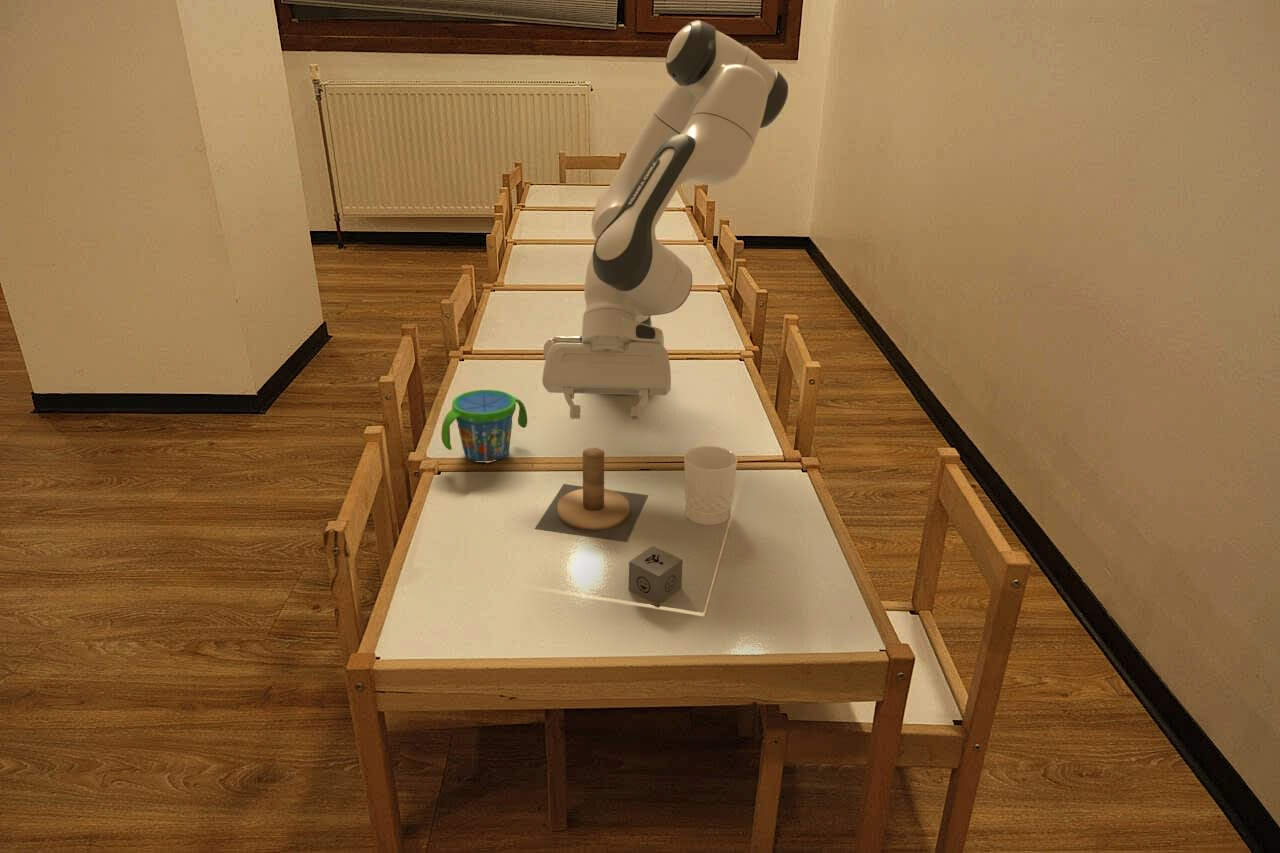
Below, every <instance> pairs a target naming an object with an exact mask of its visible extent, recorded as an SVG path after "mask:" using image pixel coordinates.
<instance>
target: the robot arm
mask: <svg viewBox="0 0 1280 853" xmlns="http://www.w3.org/2000/svg"><path fill="white" fill-rule="evenodd" d="M665 67H666V71H667V73H668V75H669V76H670V77H671V79H673V80H674V81H673V83H672V84H671V86H670V87H669V88H668V89H667V91H666V92H665V93H664V94H663V96H662V97H661V99H660V100H659V101H658V103H657V105H656V106H655V107H654V110H652V111H653V112H652V113H651V114H650V116H649V117H648V119H647V120H646V122H645V124H644V126H643V128H642V129H641V130H640V133H639V134H638V135H637V137H636V139H635V141H634V142H633V144H632V146H631V147H630V149H629V150H628V153H627V154H626V156H625V158H624V160H623V162H622V163H621V165H620V168H618V170H617V173H616V174H615V175H614V178H613V180H612V181H611V183H610V185H609V186H608V187H607V188H605V190H603V192H601V194H600V195H599V196H598V198H597V201H596V204H595V208H594V209H593V214H592V218H591V232H592V237H593V239H594V245H593V250H592V252H591V255H590V256H589V260H588V263H587V267H586V271H585V272H586V273H585V280H584V281H585V282H584V294H583V295H584V296H583V297H584V301H585V310H584V312H583V316H582V324H581V325H582V328H581V329H582V330H581V335H580V336H561V335H555V336H554V337H553V338H550V339H548V340H547V341H546V342H545V343H544V345H543V353H542V357H543V359H544V360H545V362H544V367H543V372H542V379H541V380H542V386H543V388H544V389H545V390H546V391H547V392H548V393H550V394H554V393H555V394H556V393H558V394H563V395H564V399H565V401H566V403H567V405H568V407H569V417H570V418H569V419H572V420H580V419H581V405H580V404H575V403H574V401H573V400H574V399H575V394H585V395H586V394H587V395H589V394H590V395H591V394H592V395H593V394H595V395H598V394H599V395H633V396H638V400H639V402H638V403H637V404H636V406H631V407H630V421H641V418H642V417H641V414H642V411H643V409H644V407H645V406H646V405H647V403H648V402H649V396H666V395H668V393H670V392H671V390H672V389H671V388H672V376H671V375H672V373H671V363H670V357H669V354H668V351H667V349H666V347H665V338H664V333H663V330H662V329H661V328H659V327H656V326H653V325H652V318H651V317H652V316H660V315H666V314H669V313H673V312H675V311H676V310H678V309H679V308H681V306H683V304H685V302H686V301H687V299H688V297H689V296H690V293H691V290H692V286H693V274H692V270H691V269H690V267H689V266H688V265H687V264H686V263H685V262H684V260H682V259H681V258H680V257H679V256H678V255H677V254H675V253H674V252H672V250H670V249H669V248H668V247H666V246H665V245H664V244H663V243H662V242H660V241H659V240H658V239H657V237H656V227H657V225H658V223H659V222H660V220H661V217H662V216H663V214H664V212H665V211H666V209H667V207H668V206H669V204H670V202H671V200H672V199H673V197H674V195H675V194H676V192H677V190H678V189H679V188H680V186H682V185H683V184H684V183H686V182H689V183H693V184H697V185H703V186H719V185H723V184H726V183H728V182H731V181H732V180H733V179H735V178H736V177H737V176H738V175H739V173H741V171H742V170H743V168H744V166H745V165H746V162H747V160H748V158H749V156H750V153H751V151H752V148H753V147H754V144H755V142H756V139H757V137H758V134H759V131H760V129H762V128H766V127H768V126H770V124H772V123H773V122H774V121H775V120H776V119H777V117H778V116H779V114H780V113H781V111H782V110H783V108H784V106H785V105H786V102H787V99H788V97H789V96H788V95H789V83H788V82H787V79H786V78H785V77H784V76H783V75H782V73H780V71H778V69H776V68H774V67H772V66H770V64H769V63H767V61H765V60H764V59H763V58H762V57H761V56H760V55H758V54H757V53H756V52H755V51H753V50H752V49H750V48H749V47H748V46H747V45H743V44H741V43H740V42H738V41H737V40H735V39H734V38H732V37H730V36H728V35H726V34H725V33H723V32H721V31H719V30H717V29H716V27H715V26H714V25H713V24H709V23H707V22H705V21H702V20H697V19H696V20H694V21H690V22H688V23H686V24H685V25H684V26H683V27H682V29H680V30H679V31H678V32H677V33H676V35H675V36H674V37H673V38H672V40H671V42H670V45H669V47H668V51H667V55H666V56H665Z"/></svg>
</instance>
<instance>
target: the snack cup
mask: <svg viewBox="0 0 1280 853" xmlns="http://www.w3.org/2000/svg"><path fill="white" fill-rule="evenodd" d="M517 405H518V407H519V409H518V410H519V411H518V417H517V424H518V425H519V426H520V427H521V428H527V426H528V414H527V410H526V409H527V408H526V407H525V405H524V403H523V402H522V401H521V400H520V399H519V398H517V397H515V396H513V395H512V394H510V393H508V392H504V391H502V390H501V391H500V390H498V389H497V390H496V389H478V390H473V391H472V390H471V391H468V392H465V393H464V392H463V393H461V394H460V395H457V396H456V397H455V398H454V399H453V400H452V404H451V406H452V407H451V409H450V410H449V411H448V413H446V415H445V417H444V420H443V422H442V427H441V435H440V436H441V442H442V444H443V446H444V447H445V448H446V449H447V450H449V451H452V445H451V428H450V427H451V425H452V424H453V422H454V421H455V420H456V423H457V428H458V432H459V436H460V440H461V441H460V442H461V445H462V449H463V453H464V456H465V457H466V460H468V459H469V460H468V461H471V460H473V461H472V462H474V461H493V460H498V459H501V460H502V459H504V458H507V457H508V453H509V451H510V446H511V445H510V444H511V438H512V429H513V416H514V414H515V411H516V408H517V407H516V406H517ZM498 461H499V460H498Z"/></svg>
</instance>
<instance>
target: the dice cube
mask: <svg viewBox="0 0 1280 853" xmlns="http://www.w3.org/2000/svg"><path fill="white" fill-rule="evenodd" d="M683 563H684V562H683V559H682V558H680V557H678V556H676V555H674V554H671V553H669V552H668V551H665V550H663V549H660V548H658V547H657V546H654V545H652V546H651V547H649V548H647V549H646V550H644V551H643V552H641V553H640V554H639V555H636V557H634V558H632V559H630V560H629V561H628V591H629V592H631V593H633V594H635V595H637V596H639V597H641V598H642V599H645V600H647V601H649V602H650V605H652V606H653V607H656V608H657V609H658V608H660V607H661V606H662V605H661V604H662V603H663V602H665V601H666V600H667V599H670V597H671V596H673V595H674V594H676V593H677V592H678V591H679V590H681V589H682V585H683V584H682V582H683Z"/></svg>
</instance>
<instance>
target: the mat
mask: <svg viewBox="0 0 1280 853" xmlns="http://www.w3.org/2000/svg"><path fill="white" fill-rule="evenodd" d="M579 489H583V485H582V486H581V485H575V484H574V485H573V484H568V483H563V484H562V486H561V487H560V489H559V491H558V492H557V494H556V495H555V497H554V498H553V499H552V501H551V503H550V504H549V506H548V507H547V509H546V511H545V512H544V514H543V516H542V517H541V518H540V520H539V521H538V523H537V525H536V526H535V528H534V529H535V530H540V531H546V532H547V531H548V532H555V533H562V534H568V535H576V536H582V537H588V538H589V537H590V538H596V539H603V540H609V541H617V542H623V543H628V541H629V538H630V536H631V534H632V532H633V530H634V528H635V525H636V523H637V521H638V518H639V516H640V514H641V512H642V510H643V508H644V505H645V503H646V501H647V499H648V497H649V495H648V494H643V493H642V494H641V493H635V492H634V493H633V492H627V491H619V490H612V489H611V490H612V491H615V492H618V493H620V494H621V495H623V496H624V497H625V498H626V499H627V500H628V502H629V505H630V510H629V516H628V518H627V519H626V520H625V521H624V522H623V523H621V524H619V525H617V526H615V527H612V528H609V529H604V530H582V529H578V528H574V527H571V526H569V525H567V524H565V523H564V522H563V521H561V519H560V518H559V516H558V510H557V505H558V502H559V500H560V499H561V498H562V497H563V496H564V495H566V494H568V493H570V492H572V491H575V490H579Z"/></svg>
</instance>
